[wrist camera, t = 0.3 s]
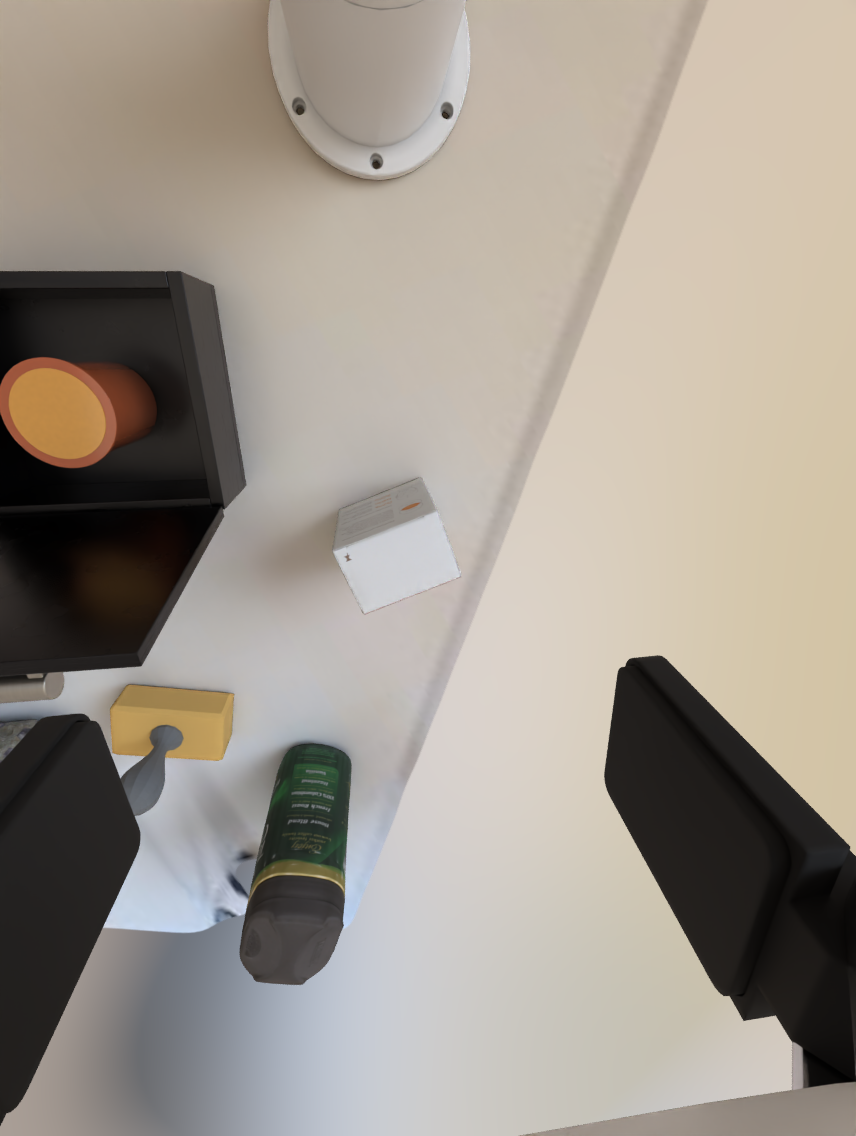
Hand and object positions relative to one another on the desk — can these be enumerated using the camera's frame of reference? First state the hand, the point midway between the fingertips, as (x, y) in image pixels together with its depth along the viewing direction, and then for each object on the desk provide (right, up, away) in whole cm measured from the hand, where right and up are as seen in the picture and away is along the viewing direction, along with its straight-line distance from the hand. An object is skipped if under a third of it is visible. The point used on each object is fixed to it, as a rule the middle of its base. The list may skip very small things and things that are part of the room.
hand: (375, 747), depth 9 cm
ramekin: (-23, +16, +28) cm, 40 cm away
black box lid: (-21, +3, +19) cm, 28 cm away
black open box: (-23, +17, +29) cm, 40 cm away
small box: (-2, +8, +36) cm, 36 cm away
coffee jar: (-12, -19, +46) cm, 51 cm away
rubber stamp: (-24, -11, +41) cm, 49 cm away
